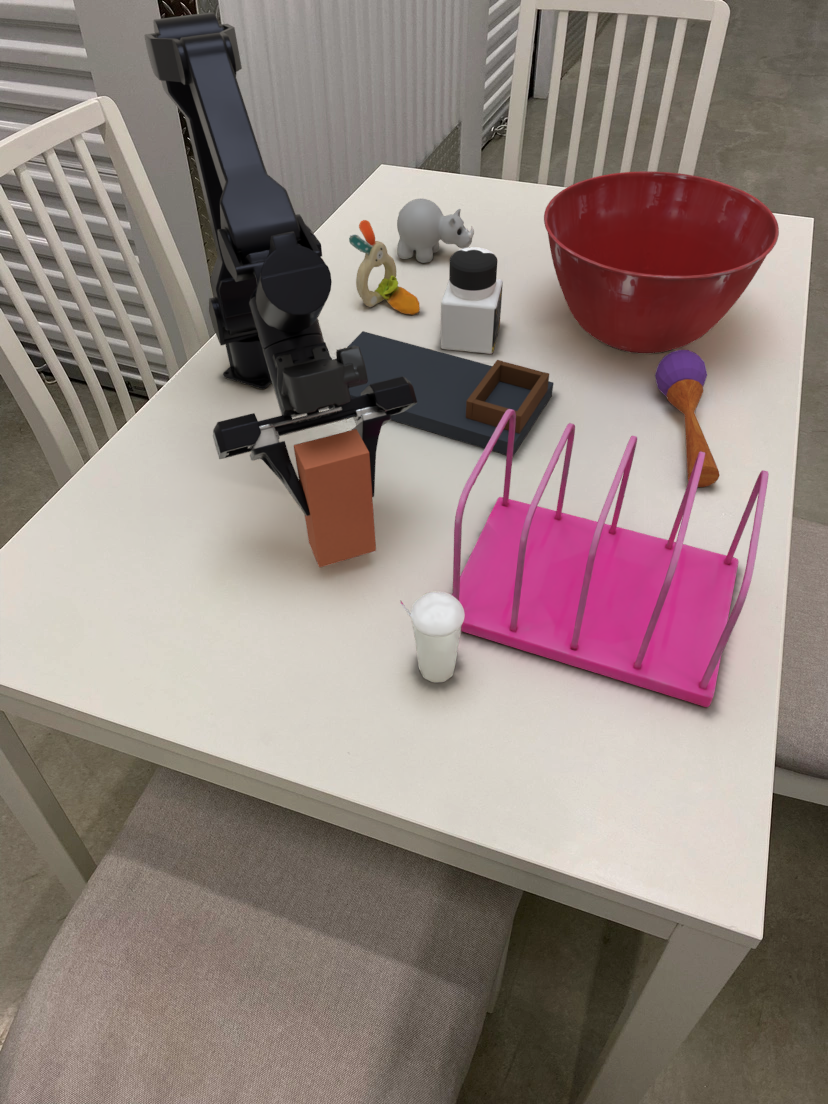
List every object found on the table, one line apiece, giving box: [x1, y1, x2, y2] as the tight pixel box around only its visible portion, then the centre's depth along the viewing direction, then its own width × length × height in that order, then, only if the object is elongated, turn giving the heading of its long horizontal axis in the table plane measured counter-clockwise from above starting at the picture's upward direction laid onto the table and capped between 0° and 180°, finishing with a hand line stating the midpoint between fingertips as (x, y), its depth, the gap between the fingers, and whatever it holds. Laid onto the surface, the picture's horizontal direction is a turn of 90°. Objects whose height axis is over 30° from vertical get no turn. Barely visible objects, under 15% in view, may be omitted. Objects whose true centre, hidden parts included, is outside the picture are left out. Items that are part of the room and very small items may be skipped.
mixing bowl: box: [543, 170, 780, 355], centre depth 107 cm, size 28×28×16 cm
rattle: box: [348, 219, 421, 316], centre depth 113 cm, size 8×8×12 cm
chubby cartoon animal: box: [396, 198, 475, 264], centre depth 123 cm, size 7×12×8 cm, turn 70°
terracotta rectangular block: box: [293, 429, 377, 568], centre depth 78 cm, size 4×6×13 cm, turn 112°
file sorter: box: [451, 409, 769, 708], centre depth 74 cm, size 17×25×16 cm
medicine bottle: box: [440, 246, 504, 355], centre depth 107 cm, size 7×7×12 cm
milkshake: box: [399, 590, 465, 684], centre depth 71 cm, size 4×5×10 cm
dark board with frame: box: [335, 330, 554, 457], centre depth 101 cm, size 27×13×4 cm, turn 63°
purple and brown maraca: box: [654, 349, 720, 488], centre depth 95 cm, size 6×6×20 cm
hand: (339, 506), depth 77 cm, fingers closed on terracotta rectangular block, 6 cm apart
